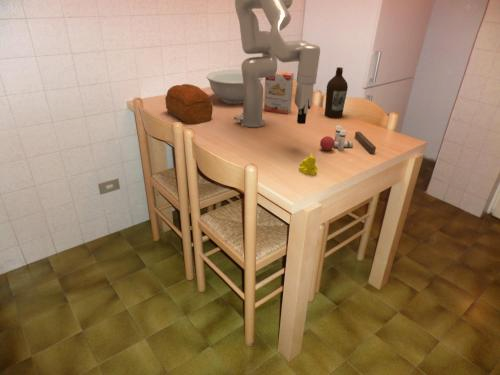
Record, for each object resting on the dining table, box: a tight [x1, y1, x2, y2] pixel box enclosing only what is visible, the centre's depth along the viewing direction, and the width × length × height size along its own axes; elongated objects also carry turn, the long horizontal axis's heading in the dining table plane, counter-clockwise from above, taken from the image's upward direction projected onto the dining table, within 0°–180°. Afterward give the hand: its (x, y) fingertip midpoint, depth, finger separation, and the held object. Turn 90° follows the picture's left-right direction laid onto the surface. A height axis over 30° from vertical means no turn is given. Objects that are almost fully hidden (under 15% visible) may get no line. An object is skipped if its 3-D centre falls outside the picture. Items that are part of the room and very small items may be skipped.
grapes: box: [298, 153, 318, 177], centre depth 133 cm, size 6×8×8 cm
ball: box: [319, 135, 335, 152], centre depth 151 cm, size 6×6×6 cm
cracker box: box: [263, 71, 295, 115], centre depth 192 cm, size 14×6×21 cm, turn 68°
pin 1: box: [334, 124, 343, 142], centre depth 155 cm, size 2×2×8 cm
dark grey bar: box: [354, 131, 377, 155], centre depth 156 cm, size 2×18×3 cm, turn 6°
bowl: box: [206, 69, 263, 104], centre depth 211 cm, size 32×32×15 cm
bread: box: [164, 83, 214, 125], centre depth 184 cm, size 16×27×16 cm, turn 37°
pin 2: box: [337, 129, 347, 151], centre depth 151 cm, size 2×2×8 cm
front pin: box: [332, 140, 354, 149], centre depth 155 cm, size 2×2×8 cm
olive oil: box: [324, 66, 349, 119], centre depth 186 cm, size 11×11×25 cm
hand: (301, 123), depth 149 cm, fingers closed
